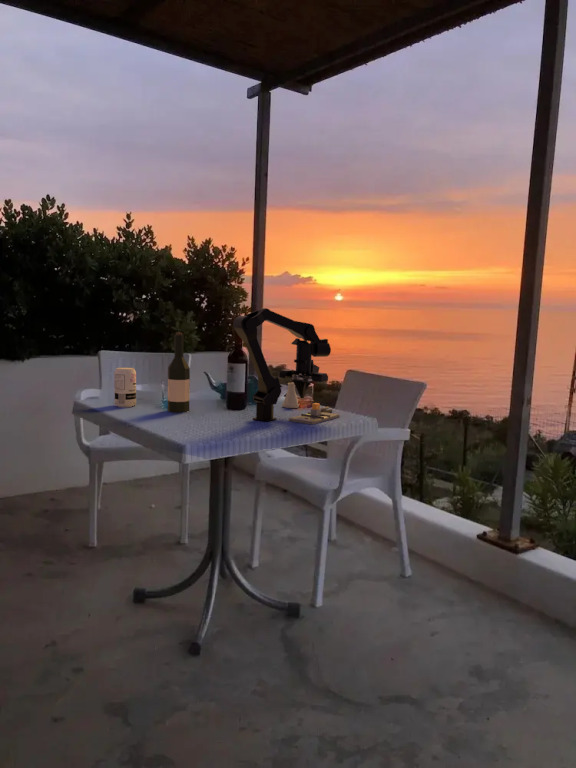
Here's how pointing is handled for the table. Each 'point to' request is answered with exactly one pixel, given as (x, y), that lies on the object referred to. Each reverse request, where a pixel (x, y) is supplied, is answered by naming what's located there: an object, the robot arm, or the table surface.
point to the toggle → (316, 409)
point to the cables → (326, 410)
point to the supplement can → (125, 387)
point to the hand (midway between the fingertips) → (302, 398)
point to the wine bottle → (178, 379)
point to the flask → (291, 397)
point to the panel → (314, 418)
